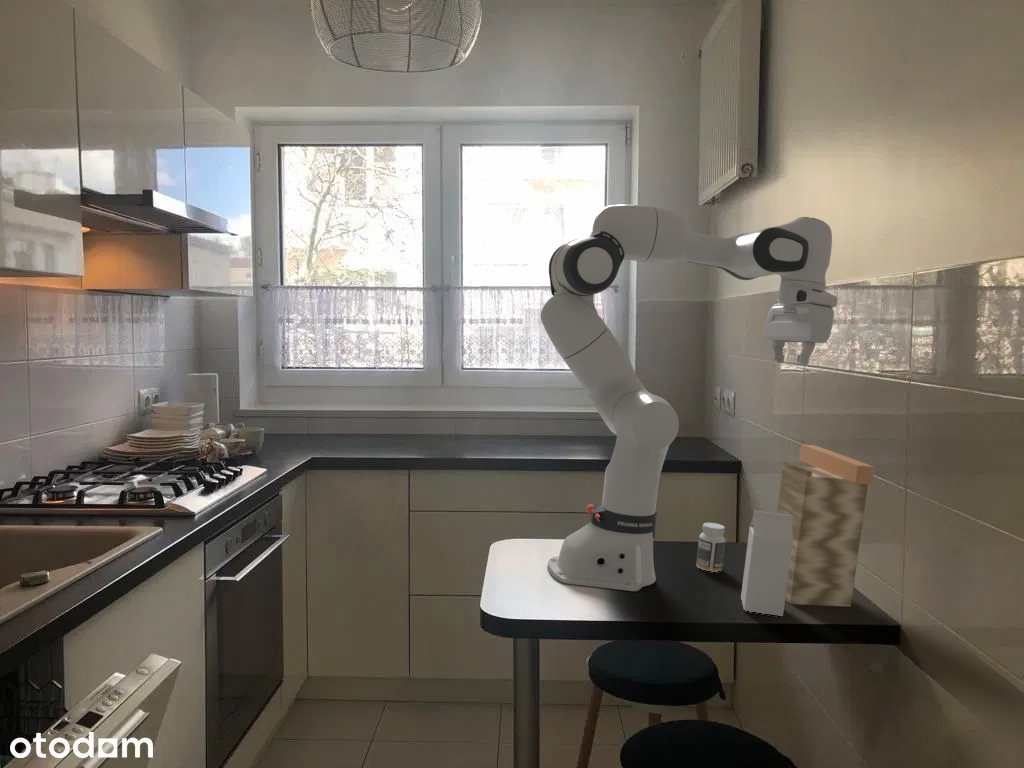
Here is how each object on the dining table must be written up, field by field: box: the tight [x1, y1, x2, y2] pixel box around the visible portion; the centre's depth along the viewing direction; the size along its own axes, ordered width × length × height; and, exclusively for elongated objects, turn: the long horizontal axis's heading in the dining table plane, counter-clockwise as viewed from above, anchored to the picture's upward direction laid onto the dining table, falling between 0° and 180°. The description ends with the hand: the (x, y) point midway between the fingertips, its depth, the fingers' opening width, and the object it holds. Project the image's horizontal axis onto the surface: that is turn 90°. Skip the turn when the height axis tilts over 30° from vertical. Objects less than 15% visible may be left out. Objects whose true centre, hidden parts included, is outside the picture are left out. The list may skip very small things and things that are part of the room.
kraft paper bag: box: [776, 460, 869, 608], centre depth 157 cm, size 13×10×27 cm
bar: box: [798, 444, 875, 485], centre depth 158 cm, size 4×22×4 cm, turn 7°
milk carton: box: [740, 510, 793, 617], centre depth 148 cm, size 7×7×19 cm
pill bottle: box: [695, 522, 727, 573], centre depth 170 cm, size 6×6×10 cm
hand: (789, 363), depth 160 cm, fingers open, 8 cm apart
